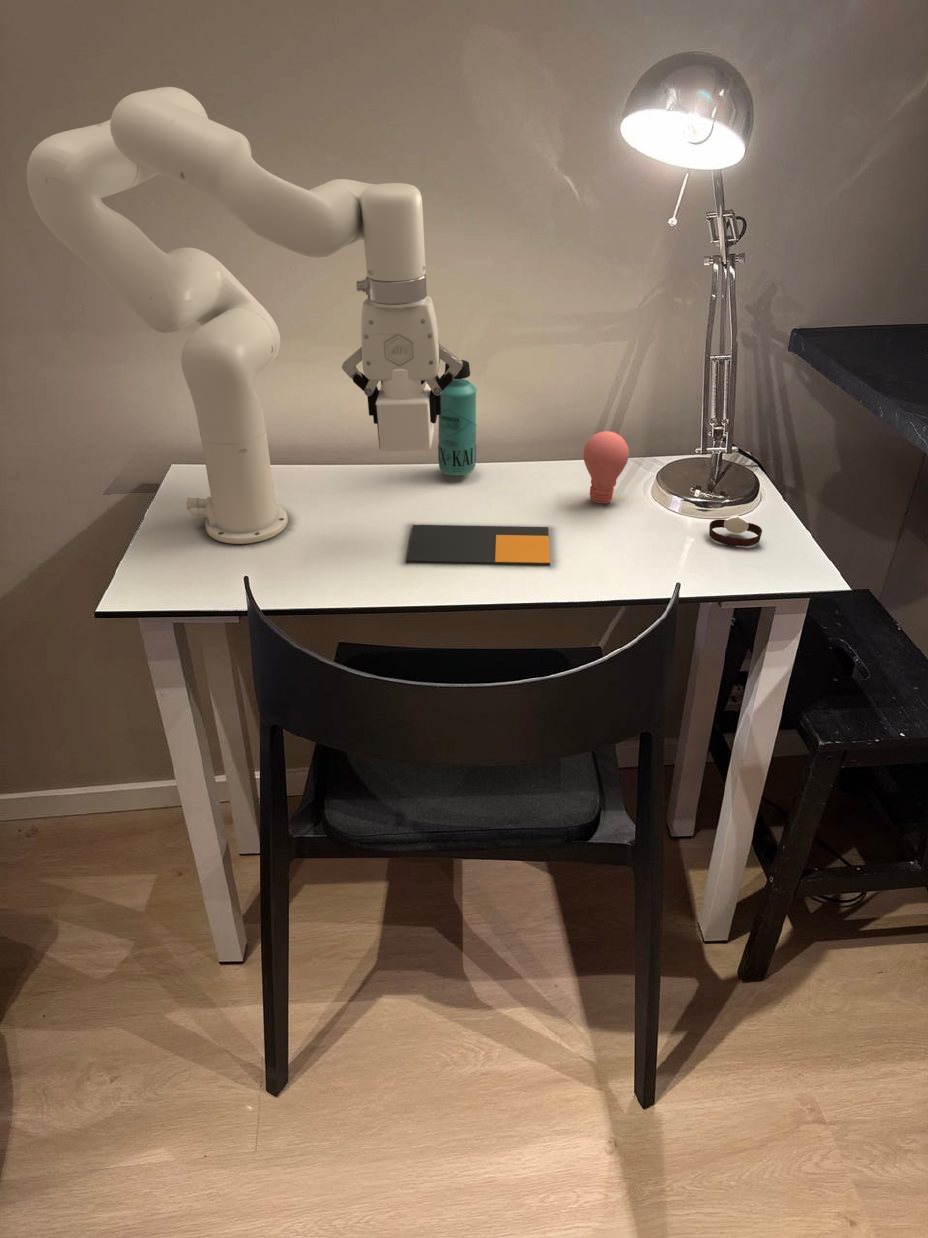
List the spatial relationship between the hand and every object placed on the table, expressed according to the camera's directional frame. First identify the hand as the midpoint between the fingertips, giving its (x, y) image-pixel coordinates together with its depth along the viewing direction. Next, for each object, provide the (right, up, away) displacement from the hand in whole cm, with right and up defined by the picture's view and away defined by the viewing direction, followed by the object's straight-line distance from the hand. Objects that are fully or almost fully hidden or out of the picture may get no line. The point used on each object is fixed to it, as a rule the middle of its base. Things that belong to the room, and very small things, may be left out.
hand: (405, 418), depth 133 cm
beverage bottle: (+7, -3, +31) cm, 32 cm away
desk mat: (+10, -17, +11) cm, 23 cm away
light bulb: (+31, -9, +23) cm, 39 cm away
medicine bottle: (0, -3, +2) cm, 4 cm away
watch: (+49, -16, +12) cm, 53 cm away
